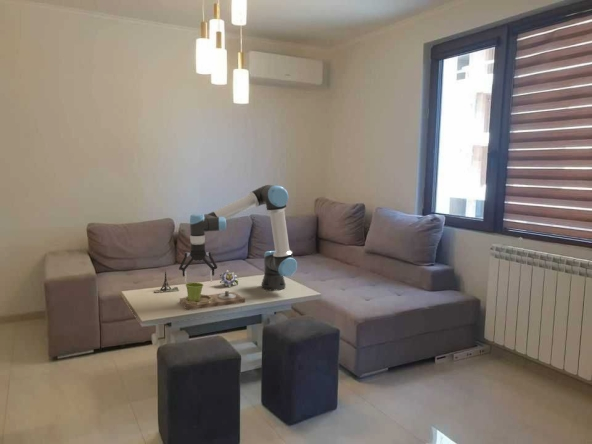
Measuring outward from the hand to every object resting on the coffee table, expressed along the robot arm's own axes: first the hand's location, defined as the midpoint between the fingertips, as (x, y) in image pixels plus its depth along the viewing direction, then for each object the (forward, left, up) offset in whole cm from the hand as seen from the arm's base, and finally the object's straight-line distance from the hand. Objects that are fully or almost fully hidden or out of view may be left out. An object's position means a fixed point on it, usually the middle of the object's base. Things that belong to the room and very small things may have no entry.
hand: (198, 281), depth 249 cm
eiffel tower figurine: (+22, -30, -13) cm, 40 cm away
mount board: (-7, -3, -12) cm, 14 cm away
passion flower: (-15, -39, -13) cm, 44 cm away
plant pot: (+3, 0, -10) cm, 11 cm away
